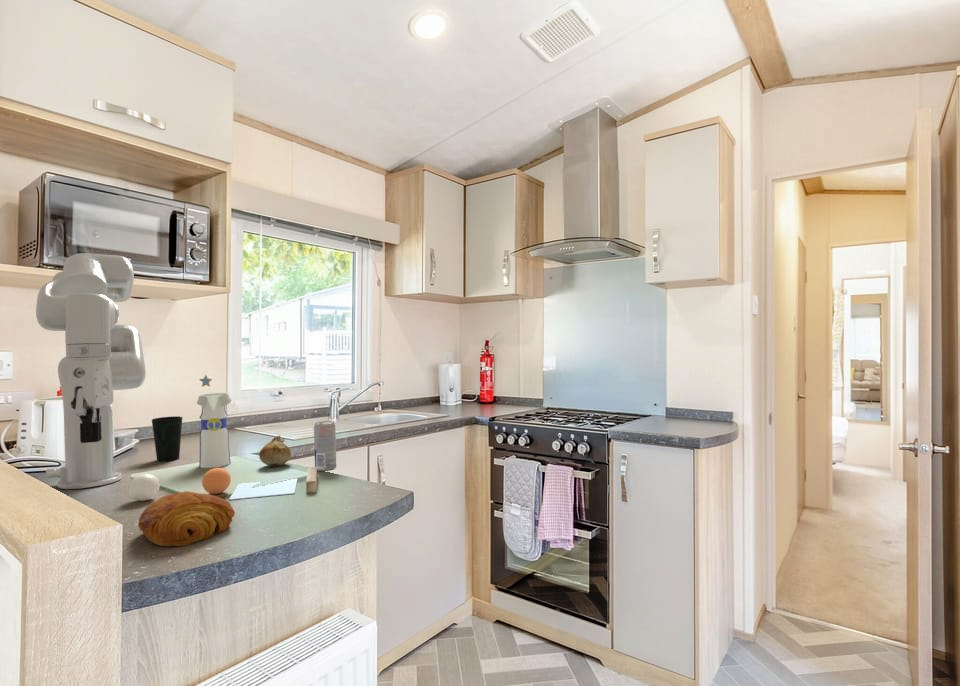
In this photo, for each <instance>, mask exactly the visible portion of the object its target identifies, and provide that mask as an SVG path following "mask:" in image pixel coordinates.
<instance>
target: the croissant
mask: <svg viewBox="0 0 960 686" xmlns="http://www.w3.org/2000/svg"><path fill="white" fill-rule="evenodd" d="M235 514H236V513H235V510H234V508H233V507H232V505H231V503H230V502H229V501H228V500H226V499H224V498H222V497H220V496H216V495H215V494H210V493H208V494H207V493H199V492H195V491H182V492H181V491H180V492H175V493H173V494H166V495H164V496H162V497H160V498H158V499H156V500H154V501H152V502H150V503H149V504H148V505H147V507H145V508H144V510H143V512H142V513H141V514H140V516H139V518H138V522H137V526H138V528H139V530H140V531H141V532H142V533H143V535H144V536H145V537H146V539H147V540H148V541H149V542H151V543H153V544H155V545H157V546H161V547H174V546H175V547H176V546H177V547H181V546H188V545H191V544H193V543H197V542H199V541H201V540H206V539H208V538H210V537H212V536H214V535H218V534H221V533H225V532H226V530H227V529H228V528H229V527H230V525H231V523H232V522H233V517H234V516H235Z"/></svg>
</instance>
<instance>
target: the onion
mask: <svg viewBox="0 0 960 686" xmlns="http://www.w3.org/2000/svg"><path fill="white" fill-rule="evenodd" d="M285 440H286V439H285V438H283V437H281V435H277V436H274V437H273V438H272V439H271V440H270V441H268V442H267V444H265V445H264V446H263V447H262V448H261V450H260V451H259V455H258V457H259V460H260V461H261V463H263V464H264V465H266V466H268V467H272V468H274V467H276V468H277V467H280V466H284V465H285V464H286V463H288V462H289V461H290V460H291V456H292V452H291V449H290V447H289V446H288V445H286V444H285V443H284V442H285Z"/></svg>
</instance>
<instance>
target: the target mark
mask: <svg viewBox="0 0 960 686" xmlns="http://www.w3.org/2000/svg"><path fill="white" fill-rule="evenodd" d="M286 480H287V479H286ZM298 481H299V480H298V478H291V480H287V481H283V482H278V483H273V484H268V485H265V486H259V487H255V488H252V486H254V485H256V484H258V483H259V484H260V482H261V481H256V482H245V483H242V482H241V483H238V484H237V486H236V488H235V489H234V490H233V492H232V493H231V496H229V499H228V500H229V501H234V500H244V499H255V498H256V499H257V498H265V497H266V498H267V497H277V496H287V495H294V494H295V492H296V489H297V484H298Z"/></svg>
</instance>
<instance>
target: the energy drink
mask: <svg viewBox="0 0 960 686" xmlns="http://www.w3.org/2000/svg"><path fill="white" fill-rule="evenodd" d="M336 432H337V431H336V424H335V421H331V420H330V421H329V420H328V421H318V422H315V423H314V426H313V438H314V439H313V441H314V442H313V447H314V450H313V451H314V467H317V472H330V471H334V470H335V469H337V435H336V434H337V433H336Z"/></svg>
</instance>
